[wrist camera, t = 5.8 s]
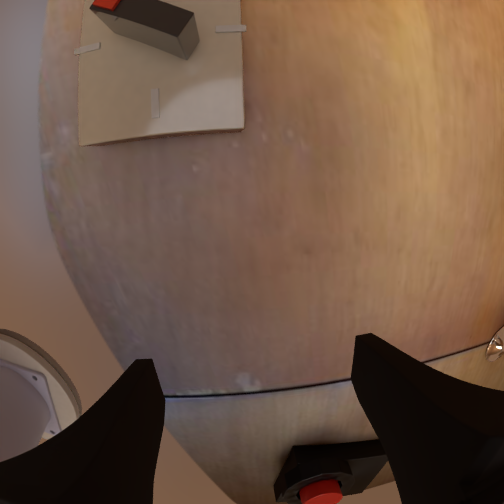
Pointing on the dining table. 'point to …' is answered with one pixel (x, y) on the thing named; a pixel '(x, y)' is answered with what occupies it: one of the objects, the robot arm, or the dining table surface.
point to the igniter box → (330, 468)
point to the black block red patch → (151, 24)
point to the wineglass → (496, 346)
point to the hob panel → (161, 80)
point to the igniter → (321, 492)
